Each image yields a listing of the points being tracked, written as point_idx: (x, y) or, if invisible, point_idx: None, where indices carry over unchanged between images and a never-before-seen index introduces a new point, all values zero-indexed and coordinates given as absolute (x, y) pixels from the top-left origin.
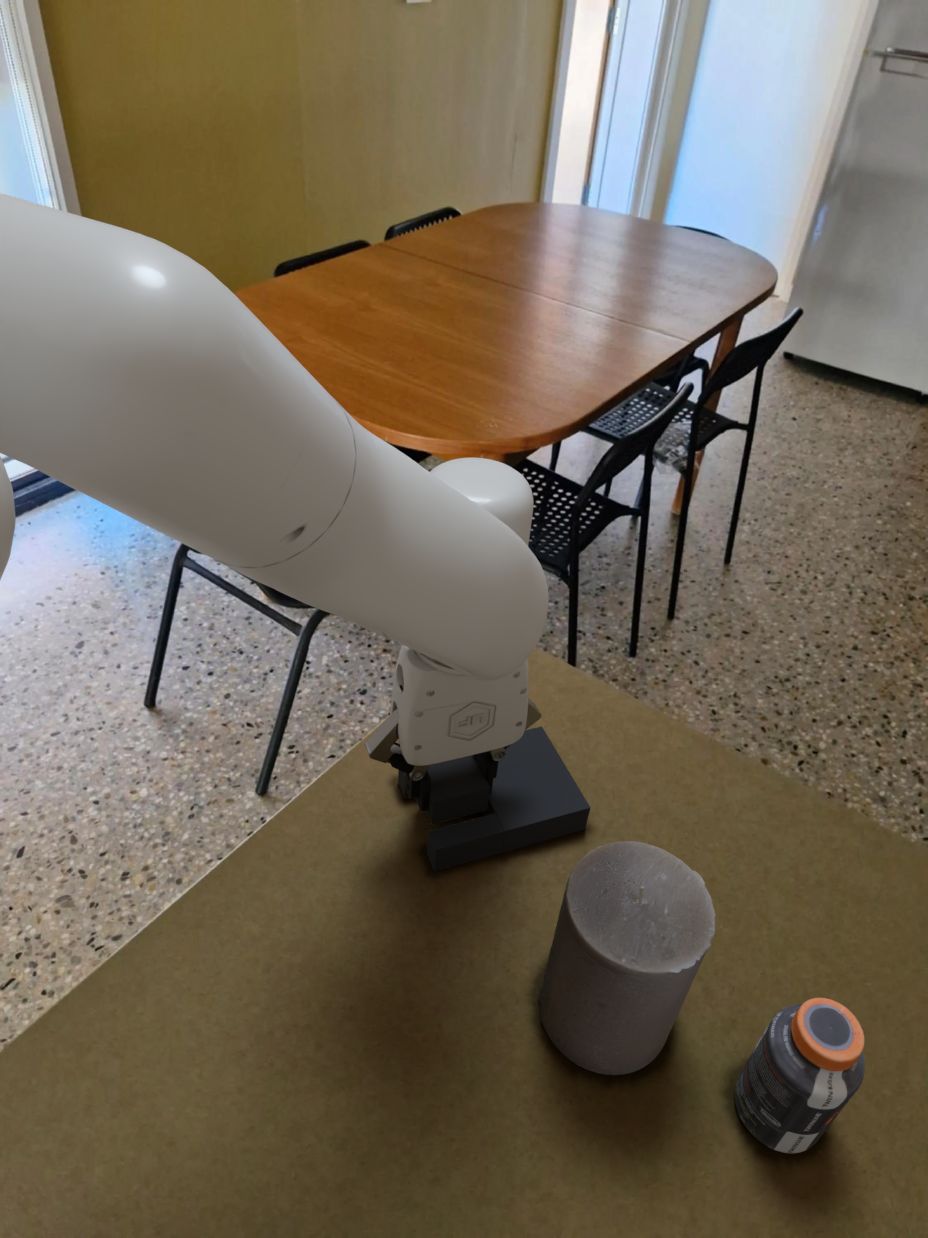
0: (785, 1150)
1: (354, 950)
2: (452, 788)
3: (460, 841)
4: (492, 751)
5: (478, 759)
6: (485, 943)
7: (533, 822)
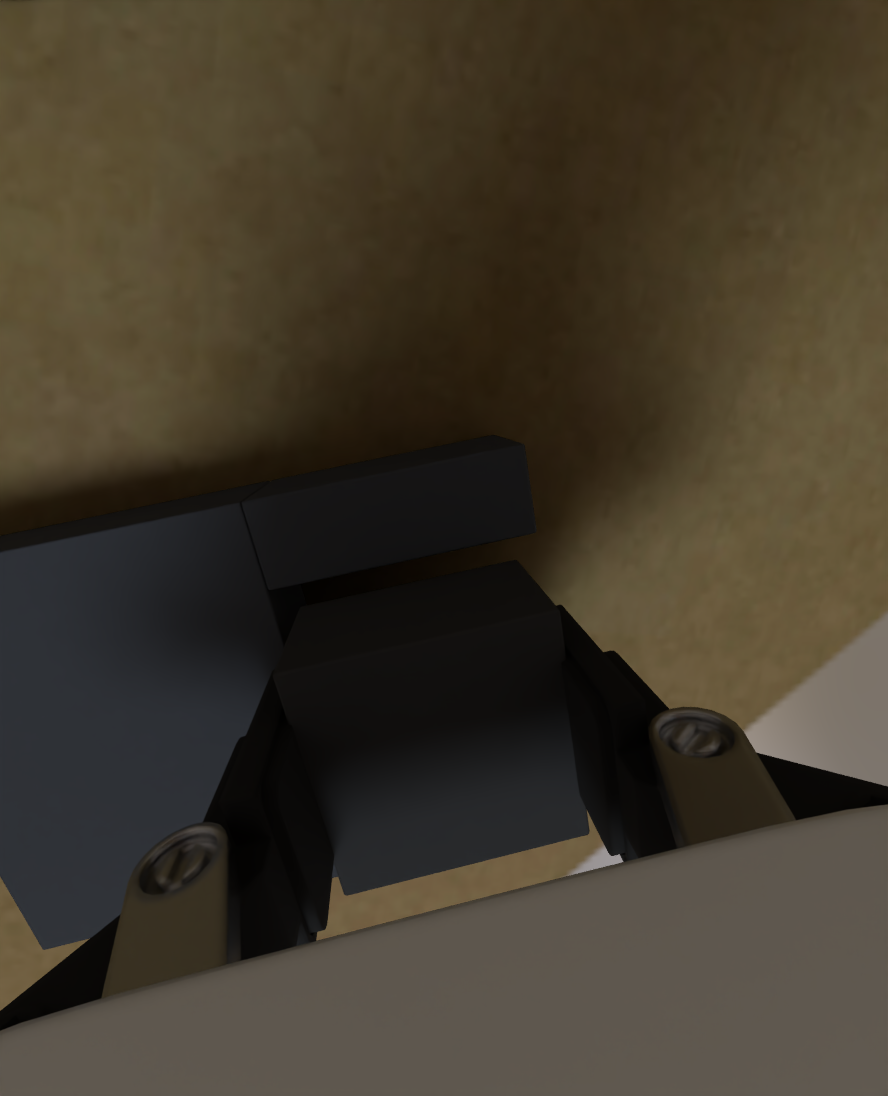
0: None
1: (778, 182)
2: (457, 678)
3: (425, 471)
4: (212, 903)
5: (311, 827)
6: (371, 122)
7: (108, 533)
